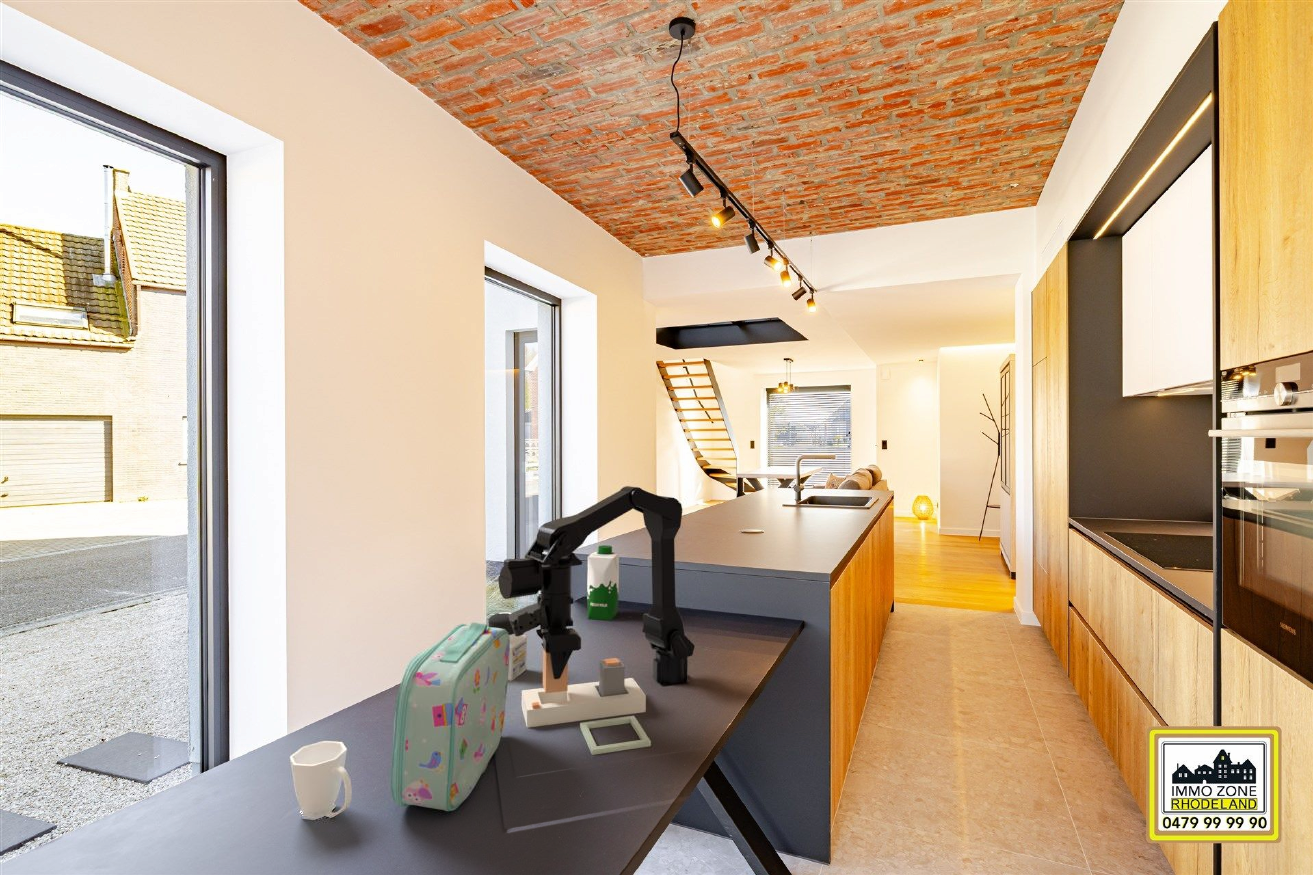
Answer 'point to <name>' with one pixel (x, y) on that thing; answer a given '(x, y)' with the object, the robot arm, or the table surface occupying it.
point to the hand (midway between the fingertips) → (555, 674)
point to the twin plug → (611, 677)
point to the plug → (548, 678)
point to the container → (512, 645)
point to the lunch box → (449, 717)
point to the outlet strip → (580, 703)
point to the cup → (320, 778)
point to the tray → (618, 746)
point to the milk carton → (603, 584)
